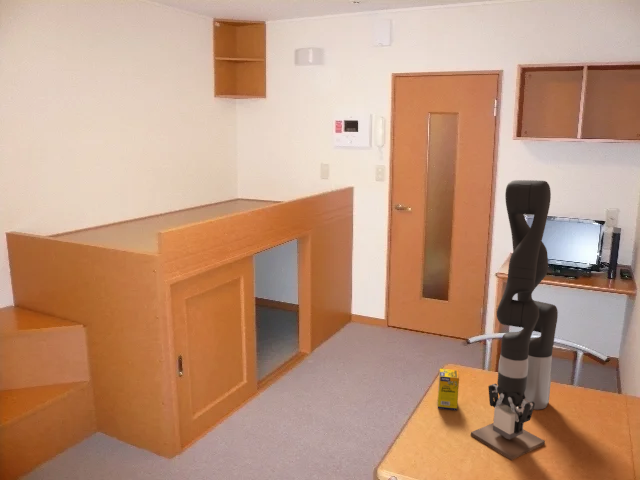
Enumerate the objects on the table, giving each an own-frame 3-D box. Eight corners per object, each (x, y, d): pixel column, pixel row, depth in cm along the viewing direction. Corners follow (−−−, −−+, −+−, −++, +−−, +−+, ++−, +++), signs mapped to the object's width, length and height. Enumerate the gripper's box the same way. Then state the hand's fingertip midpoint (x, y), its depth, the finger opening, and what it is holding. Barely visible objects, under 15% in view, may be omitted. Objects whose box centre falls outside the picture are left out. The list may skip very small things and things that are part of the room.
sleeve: (506, 424, 159) (508, 402, 158) (522, 433, 154) (524, 410, 153) (492, 430, 156) (494, 407, 155) (509, 439, 151) (511, 415, 150)
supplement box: (457, 411, 171) (459, 378, 169) (437, 409, 172) (439, 376, 170) (456, 401, 177) (458, 369, 175) (437, 400, 178) (439, 368, 176)
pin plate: (503, 421, 165) (505, 401, 164) (544, 444, 154) (546, 422, 152) (470, 435, 158) (472, 414, 157) (511, 460, 146) (513, 437, 145)
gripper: (544, 377, 148) (538, 435, 151) (500, 358, 160) (496, 413, 163) (526, 384, 144) (520, 443, 147) (482, 364, 156) (478, 420, 159)
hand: (508, 427), depth 155 cm, fingers closed on sleeve, 5 cm apart
